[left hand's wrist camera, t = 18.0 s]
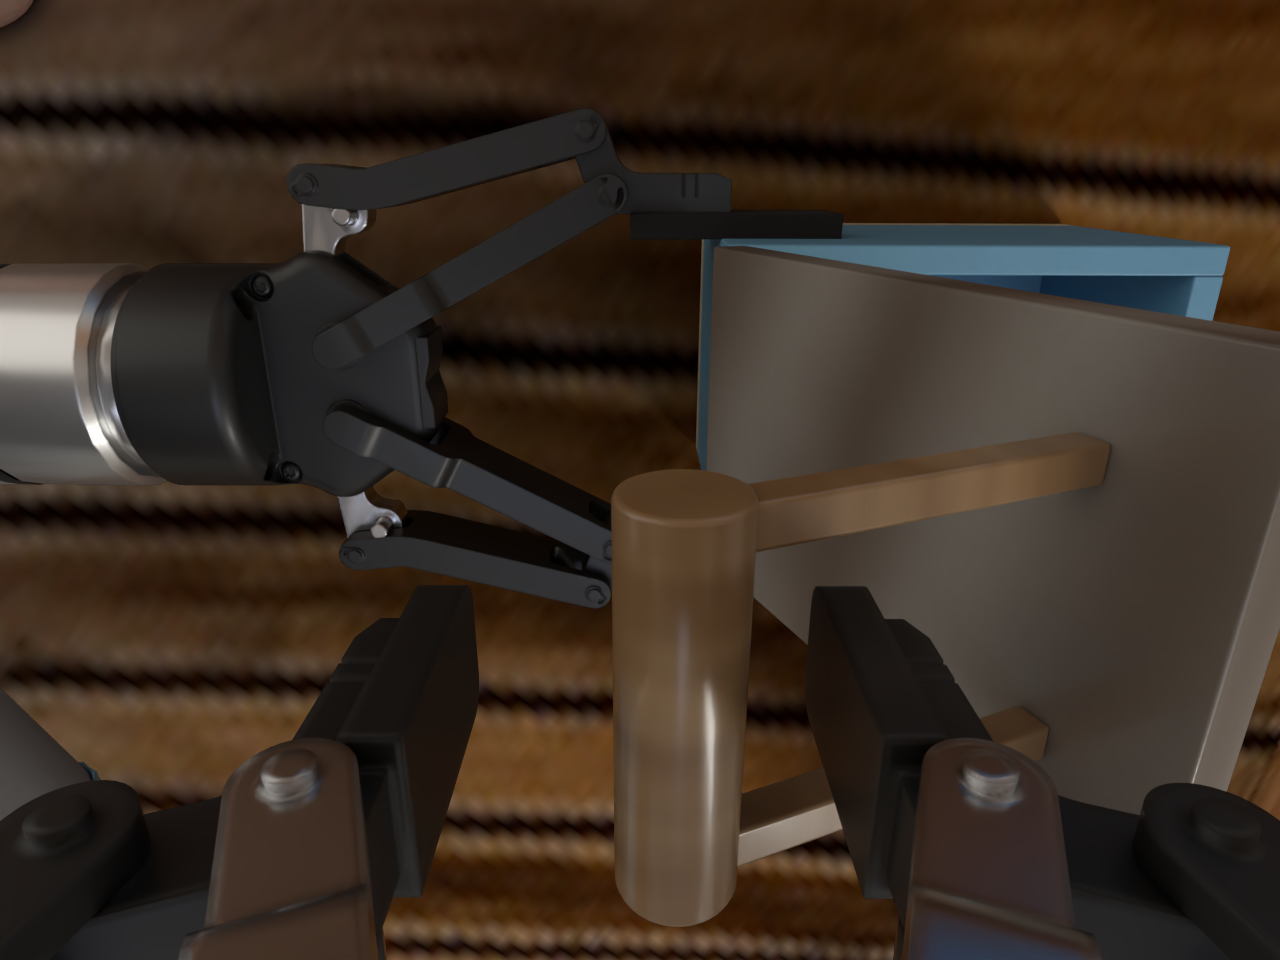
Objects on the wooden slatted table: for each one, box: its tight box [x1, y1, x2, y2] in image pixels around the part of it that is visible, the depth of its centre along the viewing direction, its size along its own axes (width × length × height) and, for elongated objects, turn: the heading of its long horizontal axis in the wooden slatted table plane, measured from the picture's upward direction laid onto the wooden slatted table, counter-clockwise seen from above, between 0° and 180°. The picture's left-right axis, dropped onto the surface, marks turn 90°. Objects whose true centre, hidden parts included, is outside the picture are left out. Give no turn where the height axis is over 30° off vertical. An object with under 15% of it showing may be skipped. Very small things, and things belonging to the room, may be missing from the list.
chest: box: [696, 223, 1230, 471], centre depth 30 cm, size 14×9×10 cm, turn 90°
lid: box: [611, 246, 1280, 927], centre depth 16 cm, size 15×9×9 cm
